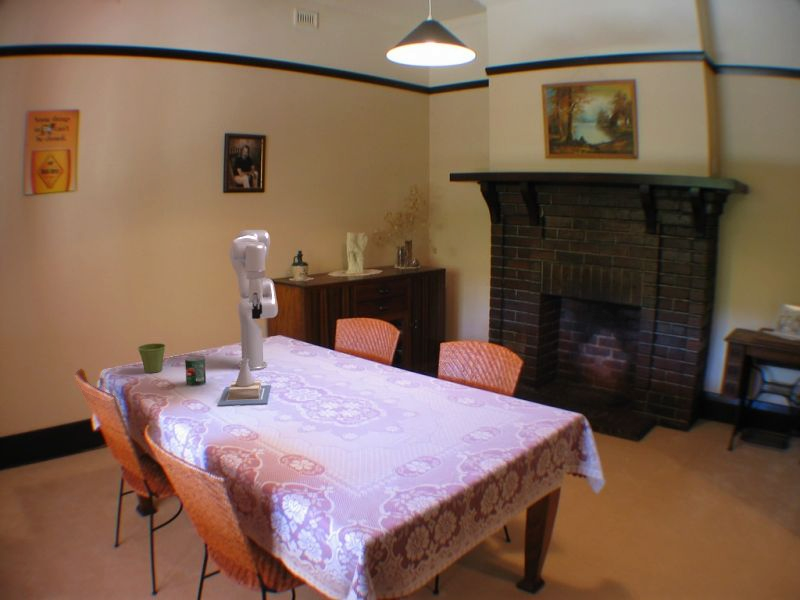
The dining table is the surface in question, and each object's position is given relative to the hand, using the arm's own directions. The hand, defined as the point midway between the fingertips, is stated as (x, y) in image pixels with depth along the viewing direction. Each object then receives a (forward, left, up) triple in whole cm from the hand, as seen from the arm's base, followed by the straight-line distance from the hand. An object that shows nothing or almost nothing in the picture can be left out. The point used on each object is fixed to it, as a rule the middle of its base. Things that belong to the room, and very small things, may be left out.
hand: (257, 316), depth 265 cm
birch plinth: (+17, -4, -28) cm, 33 cm away
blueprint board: (+17, -4, -28) cm, 33 cm away
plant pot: (-23, -48, -28) cm, 60 cm away
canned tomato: (-2, -26, -28) cm, 39 cm away
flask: (+17, -4, -24) cm, 29 cm away
